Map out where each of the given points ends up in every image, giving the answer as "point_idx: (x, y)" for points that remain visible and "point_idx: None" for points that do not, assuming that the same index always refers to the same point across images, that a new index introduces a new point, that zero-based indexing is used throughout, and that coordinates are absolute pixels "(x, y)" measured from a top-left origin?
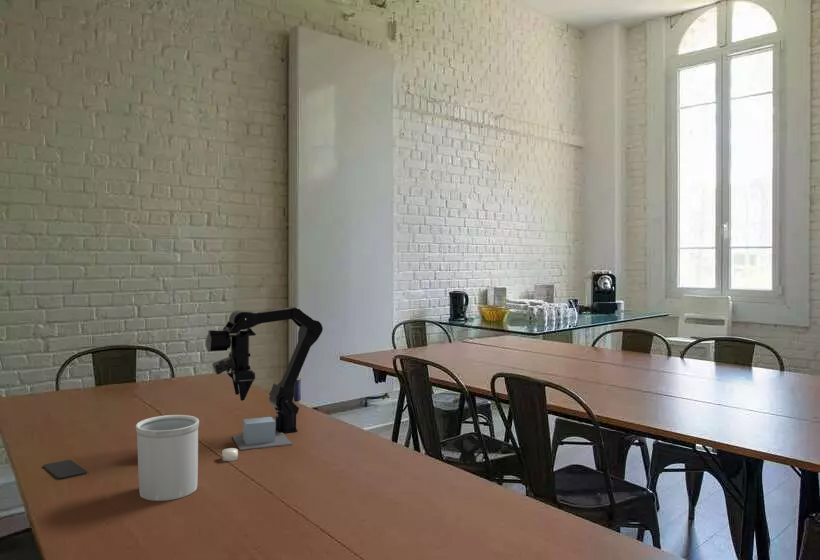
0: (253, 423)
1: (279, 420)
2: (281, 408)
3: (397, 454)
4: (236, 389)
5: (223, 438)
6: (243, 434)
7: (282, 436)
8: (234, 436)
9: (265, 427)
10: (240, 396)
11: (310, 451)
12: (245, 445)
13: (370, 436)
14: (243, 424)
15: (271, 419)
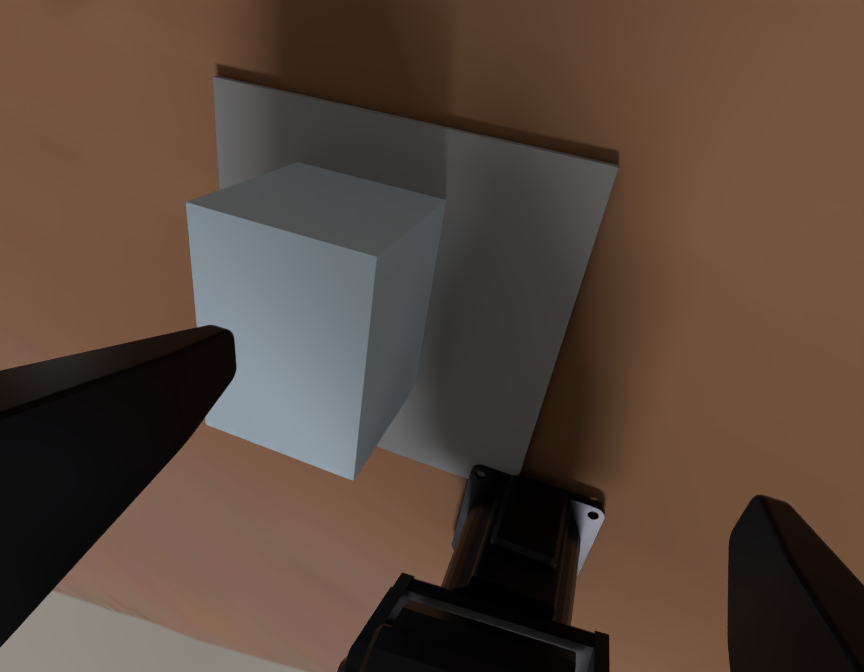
0: (193, 267)
1: (482, 538)
2: (386, 611)
3: None
4: (777, 606)
5: (616, 66)
6: (405, 205)
7: None
8: (567, 171)
9: None
10: (136, 344)
11: None
12: (284, 149)
13: (248, 645)
14: (371, 233)
15: (267, 435)
